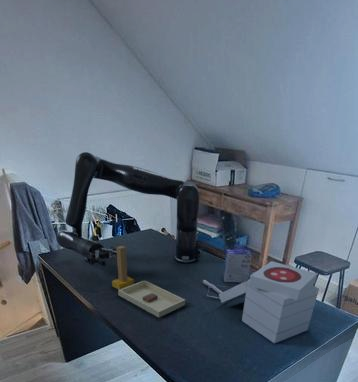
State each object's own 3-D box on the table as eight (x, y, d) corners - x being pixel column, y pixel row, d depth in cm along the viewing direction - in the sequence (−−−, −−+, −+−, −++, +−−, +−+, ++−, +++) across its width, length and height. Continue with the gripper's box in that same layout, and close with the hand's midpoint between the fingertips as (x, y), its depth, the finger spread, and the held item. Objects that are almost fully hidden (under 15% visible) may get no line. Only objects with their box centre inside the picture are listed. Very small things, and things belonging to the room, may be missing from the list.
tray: (118, 296, 123) (118, 290, 121) (144, 286, 131) (144, 280, 129) (158, 319, 110) (158, 312, 109) (185, 306, 118) (185, 299, 117)
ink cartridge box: (246, 277, 141) (251, 244, 133) (248, 283, 136) (253, 248, 128) (222, 276, 141) (226, 243, 133) (224, 282, 136) (228, 248, 128)
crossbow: (242, 298, 127) (243, 293, 126) (215, 306, 121) (216, 301, 120) (216, 279, 137) (217, 275, 136) (190, 286, 132) (191, 281, 130)
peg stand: (112, 288, 129) (109, 247, 120) (127, 282, 133) (124, 243, 125) (119, 291, 126) (116, 251, 118) (134, 286, 131) (132, 246, 122)
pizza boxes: (252, 294, 128) (259, 248, 119) (316, 331, 107) (332, 279, 97) (212, 305, 119) (216, 257, 110) (273, 349, 98) (286, 294, 88)
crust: (142, 299, 120) (142, 296, 119) (152, 295, 123) (152, 292, 122) (148, 302, 118) (148, 299, 117) (157, 298, 121) (157, 295, 120)
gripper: (73, 244, 130) (97, 255, 121) (104, 236, 139) (128, 246, 130) (76, 262, 134) (99, 274, 125) (105, 254, 143) (129, 265, 134)
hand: (114, 260), depth 127 cm, fingers open, 8 cm apart
